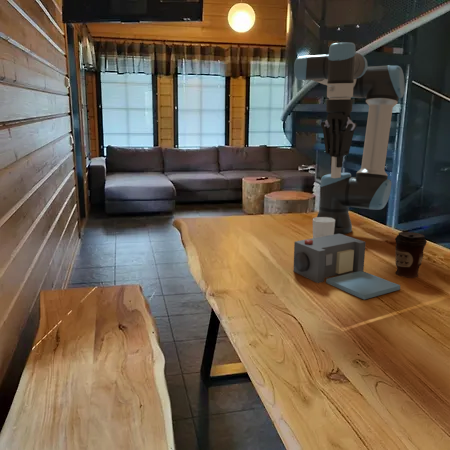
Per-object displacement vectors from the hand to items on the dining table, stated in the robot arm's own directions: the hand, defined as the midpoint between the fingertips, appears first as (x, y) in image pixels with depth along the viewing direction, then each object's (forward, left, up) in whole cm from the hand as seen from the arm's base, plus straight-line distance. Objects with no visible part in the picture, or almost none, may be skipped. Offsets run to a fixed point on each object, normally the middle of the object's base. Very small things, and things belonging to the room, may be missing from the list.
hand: (335, 177), depth 143 cm
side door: (+12, +11, -27) cm, 32 cm away
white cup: (-14, -11, -28) cm, 33 cm away
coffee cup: (-3, +23, -28) cm, 37 cm away
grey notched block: (+10, +4, -28) cm, 30 cm away
